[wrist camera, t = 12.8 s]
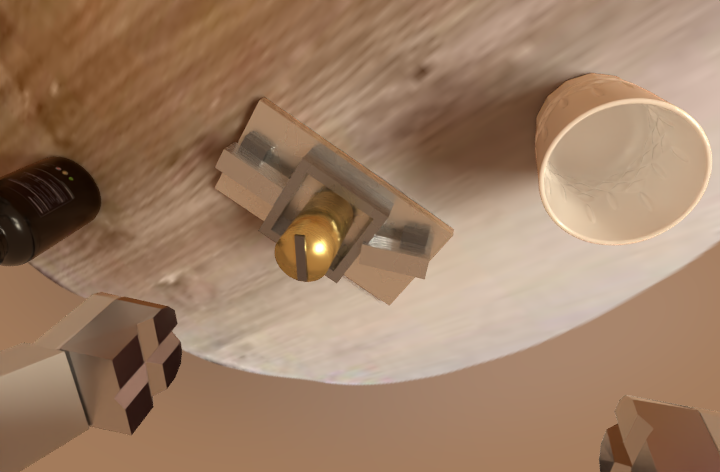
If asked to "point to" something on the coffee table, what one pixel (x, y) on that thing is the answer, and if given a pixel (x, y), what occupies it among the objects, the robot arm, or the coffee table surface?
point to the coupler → (314, 237)
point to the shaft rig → (332, 174)
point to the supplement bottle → (43, 207)
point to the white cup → (617, 160)
